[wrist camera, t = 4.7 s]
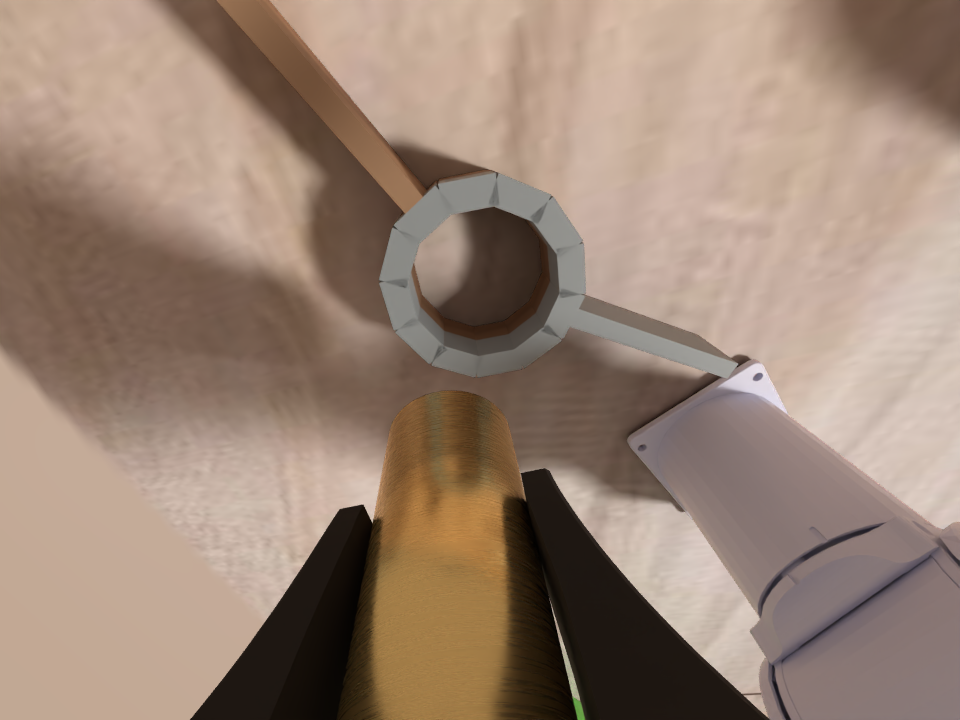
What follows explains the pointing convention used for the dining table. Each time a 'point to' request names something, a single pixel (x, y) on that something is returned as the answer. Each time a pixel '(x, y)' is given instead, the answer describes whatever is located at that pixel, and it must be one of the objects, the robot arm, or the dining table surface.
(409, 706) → the brass hinge pin
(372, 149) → the walnut hinge leaf
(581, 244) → the slate hinge leaf
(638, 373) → the dining table surface
